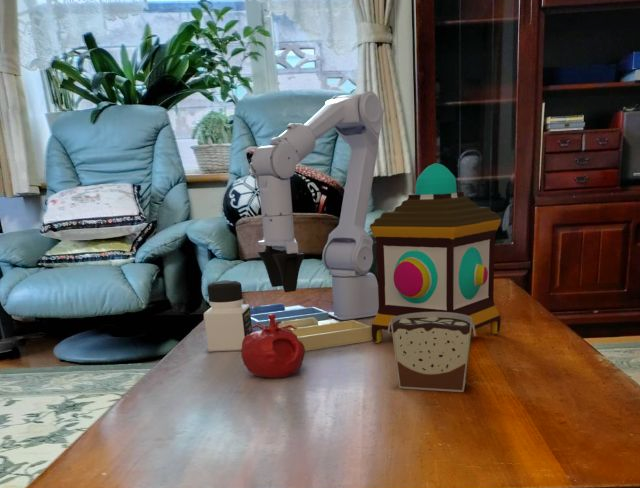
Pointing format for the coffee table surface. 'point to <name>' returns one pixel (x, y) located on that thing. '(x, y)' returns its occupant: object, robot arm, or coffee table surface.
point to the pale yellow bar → (305, 322)
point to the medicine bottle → (226, 316)
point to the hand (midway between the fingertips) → (283, 288)
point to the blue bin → (288, 316)
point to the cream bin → (333, 334)
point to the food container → (432, 350)
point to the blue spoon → (271, 308)
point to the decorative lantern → (436, 254)
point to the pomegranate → (272, 351)
